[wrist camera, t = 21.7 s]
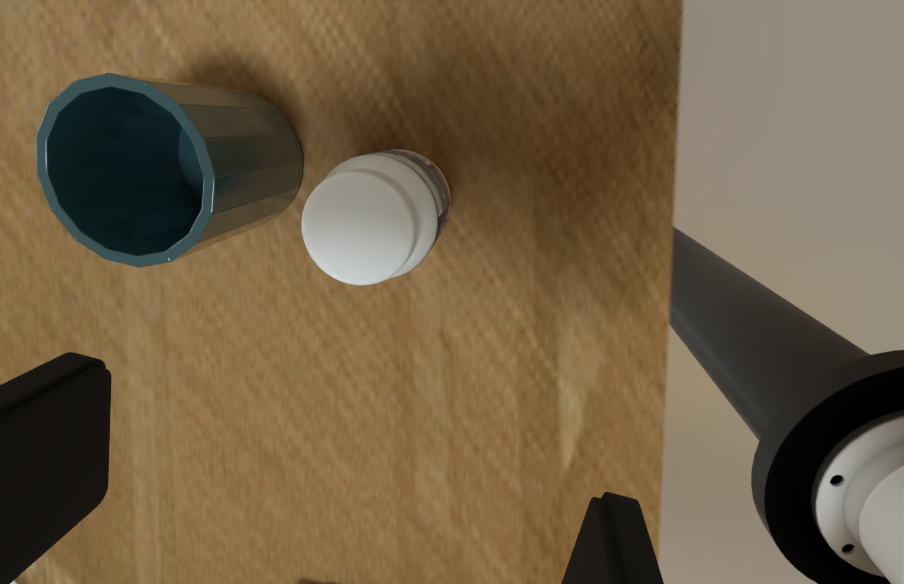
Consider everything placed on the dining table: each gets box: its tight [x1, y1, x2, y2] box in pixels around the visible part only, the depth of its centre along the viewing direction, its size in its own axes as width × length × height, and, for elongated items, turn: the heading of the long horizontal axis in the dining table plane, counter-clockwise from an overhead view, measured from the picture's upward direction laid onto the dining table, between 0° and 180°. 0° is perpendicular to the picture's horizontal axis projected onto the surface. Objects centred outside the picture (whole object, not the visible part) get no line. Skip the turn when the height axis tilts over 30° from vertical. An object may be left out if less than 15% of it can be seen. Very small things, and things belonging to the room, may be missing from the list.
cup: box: [36, 73, 303, 267], centre depth 27 cm, size 8×8×10 cm
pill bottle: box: [302, 149, 451, 285], centre depth 27 cm, size 6×6×10 cm
